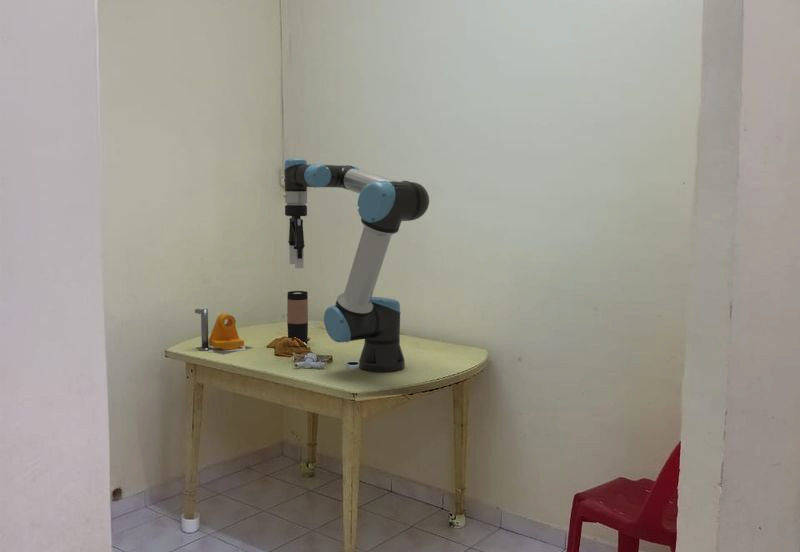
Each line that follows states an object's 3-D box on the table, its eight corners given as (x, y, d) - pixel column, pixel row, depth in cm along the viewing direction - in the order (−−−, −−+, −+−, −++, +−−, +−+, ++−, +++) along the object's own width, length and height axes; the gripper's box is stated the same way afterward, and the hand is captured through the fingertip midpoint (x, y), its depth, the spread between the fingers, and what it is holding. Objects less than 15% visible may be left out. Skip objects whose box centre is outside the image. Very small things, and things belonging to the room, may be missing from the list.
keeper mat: (222, 356, 248) (222, 355, 248) (192, 349, 258) (192, 348, 258) (257, 349, 261) (257, 347, 261) (226, 342, 271) (226, 341, 271)
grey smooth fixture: (214, 349, 257) (213, 309, 256) (204, 351, 254) (203, 310, 252) (202, 346, 261) (201, 307, 259) (192, 348, 258) (191, 308, 256)
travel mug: (284, 343, 270) (284, 291, 268) (303, 341, 274) (303, 290, 272) (292, 347, 264) (291, 294, 261) (311, 345, 267) (311, 292, 265)
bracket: (216, 350, 253) (217, 316, 252) (208, 346, 259) (209, 313, 257) (244, 348, 259) (245, 315, 258) (236, 344, 265) (237, 312, 264)
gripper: (280, 203, 255) (280, 262, 258) (290, 205, 231) (290, 270, 234) (301, 203, 257) (301, 262, 260) (313, 205, 234) (313, 269, 236)
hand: (296, 266), depth 247 cm, fingers open, 13 cm apart
